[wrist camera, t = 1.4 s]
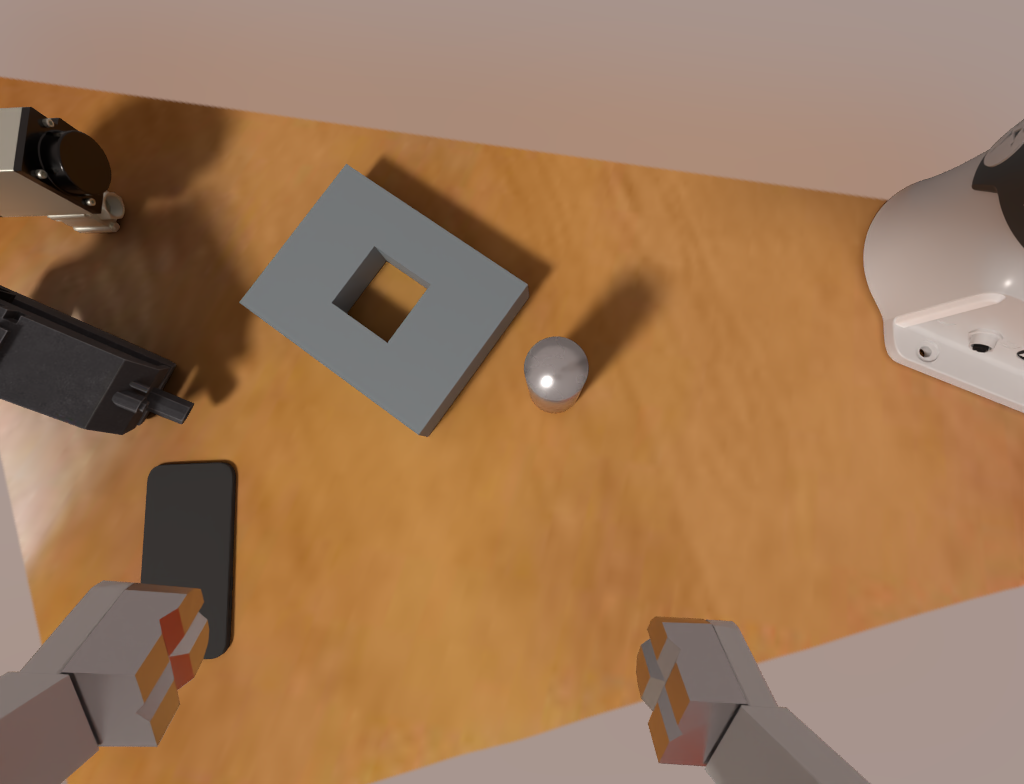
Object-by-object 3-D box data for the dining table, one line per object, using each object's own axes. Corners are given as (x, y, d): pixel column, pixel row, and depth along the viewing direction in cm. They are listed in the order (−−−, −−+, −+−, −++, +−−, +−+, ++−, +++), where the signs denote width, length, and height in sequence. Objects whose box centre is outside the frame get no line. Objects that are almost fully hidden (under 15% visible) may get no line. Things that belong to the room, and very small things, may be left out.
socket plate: (529, 297, 42) (527, 284, 39) (428, 436, 41) (418, 434, 38) (359, 183, 44) (346, 164, 41) (260, 313, 43) (239, 302, 40)
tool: (-13, 264, 42) (-162, 231, 29) (224, 371, 50) (196, 385, 36) (-53, 329, 42) (-224, 326, 28) (193, 427, 49) (152, 462, 36)
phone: (234, 461, 41) (226, 659, 39) (240, 461, 42) (232, 655, 40) (147, 465, 42) (134, 660, 40) (155, 465, 43) (142, 656, 40)
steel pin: (589, 382, 41) (601, 360, 32) (560, 423, 40) (564, 412, 31) (548, 354, 41) (548, 324, 32) (519, 394, 41) (511, 375, 32)
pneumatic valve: (162, 239, 45) (24, 159, 33) (38, 243, 46) (-141, 166, 34) (168, 180, 46) (35, 81, 34) (46, 185, 46) (-127, 90, 35)
